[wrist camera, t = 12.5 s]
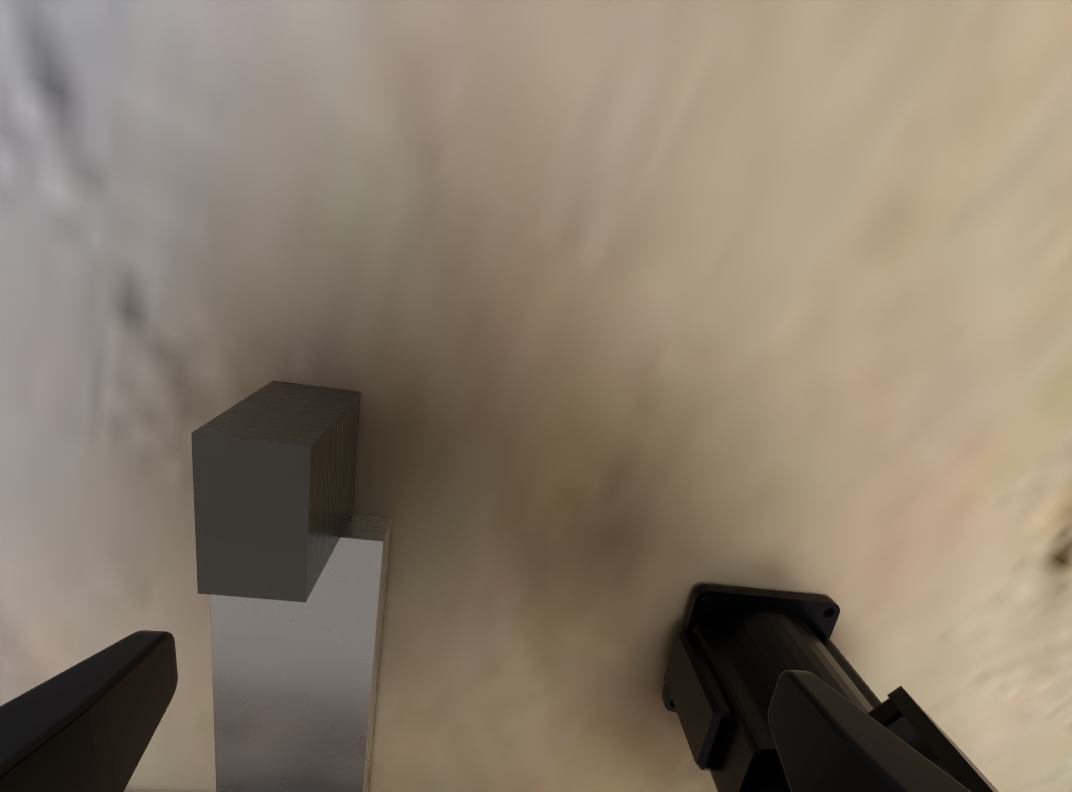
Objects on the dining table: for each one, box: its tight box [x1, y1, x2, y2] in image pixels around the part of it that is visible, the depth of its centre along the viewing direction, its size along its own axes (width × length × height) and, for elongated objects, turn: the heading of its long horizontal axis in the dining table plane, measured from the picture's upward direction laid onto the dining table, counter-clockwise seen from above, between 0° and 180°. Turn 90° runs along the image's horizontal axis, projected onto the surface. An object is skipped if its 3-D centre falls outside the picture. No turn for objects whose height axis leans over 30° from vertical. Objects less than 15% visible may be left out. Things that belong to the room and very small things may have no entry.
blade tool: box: [192, 381, 392, 792], centre depth 19 cm, size 6×23×5 cm, turn 171°
